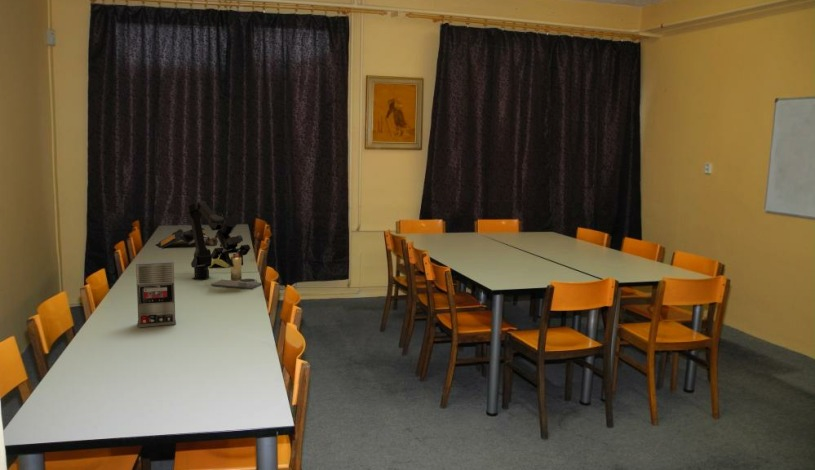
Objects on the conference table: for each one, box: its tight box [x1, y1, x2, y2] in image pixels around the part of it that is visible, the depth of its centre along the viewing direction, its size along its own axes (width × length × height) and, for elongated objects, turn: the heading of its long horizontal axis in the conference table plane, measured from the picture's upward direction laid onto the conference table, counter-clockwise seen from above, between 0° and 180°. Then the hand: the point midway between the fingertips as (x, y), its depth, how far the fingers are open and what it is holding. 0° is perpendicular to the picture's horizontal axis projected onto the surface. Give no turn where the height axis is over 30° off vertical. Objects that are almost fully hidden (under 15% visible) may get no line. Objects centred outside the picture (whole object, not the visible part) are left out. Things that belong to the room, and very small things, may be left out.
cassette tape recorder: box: [135, 259, 177, 328], centre depth 248 cm, size 14×6×25 cm, turn 114°
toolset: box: [155, 227, 219, 249], centre depth 425 cm, size 40×20×27 cm
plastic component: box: [208, 254, 232, 269], centre depth 364 cm, size 20×7×10 cm
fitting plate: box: [210, 278, 263, 291], centre depth 316 cm, size 22×11×3 cm, turn 78°
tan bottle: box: [230, 253, 243, 281], centre depth 304 cm, size 5×5×12 cm
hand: (237, 265), depth 303 cm, fingers closed on tan bottle, 5 cm apart
